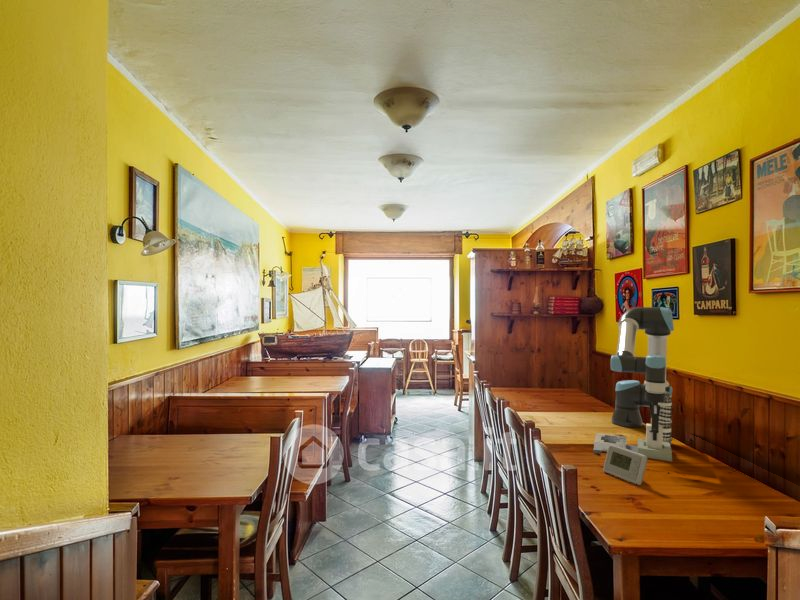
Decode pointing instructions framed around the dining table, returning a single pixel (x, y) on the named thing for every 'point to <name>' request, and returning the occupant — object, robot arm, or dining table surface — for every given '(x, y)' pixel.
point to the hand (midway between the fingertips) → (654, 445)
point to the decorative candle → (666, 418)
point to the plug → (648, 436)
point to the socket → (608, 441)
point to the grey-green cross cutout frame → (655, 451)
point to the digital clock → (625, 464)
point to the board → (630, 447)
